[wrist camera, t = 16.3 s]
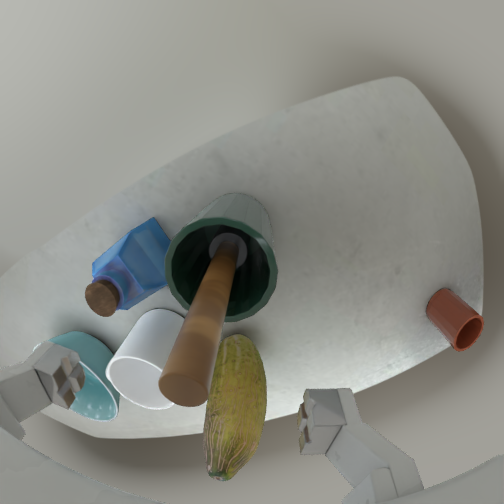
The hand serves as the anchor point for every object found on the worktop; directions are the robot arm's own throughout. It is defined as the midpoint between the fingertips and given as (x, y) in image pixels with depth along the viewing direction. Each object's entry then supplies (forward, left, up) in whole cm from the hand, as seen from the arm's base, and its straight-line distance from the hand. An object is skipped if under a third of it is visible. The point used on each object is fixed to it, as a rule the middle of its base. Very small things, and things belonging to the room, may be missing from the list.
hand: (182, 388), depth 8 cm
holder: (-30, +8, -23) cm, 39 cm away
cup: (0, 0, -23) cm, 23 cm away
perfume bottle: (+10, +4, -23) cm, 26 cm away
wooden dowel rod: (0, 0, -22) cm, 22 cm away
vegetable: (-2, +15, -23) cm, 28 cm away
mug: (+10, +16, -23) cm, 30 cm away
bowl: (+22, +23, -23) cm, 39 cm away
